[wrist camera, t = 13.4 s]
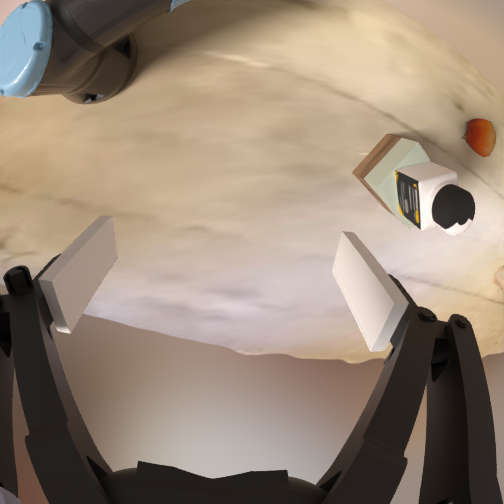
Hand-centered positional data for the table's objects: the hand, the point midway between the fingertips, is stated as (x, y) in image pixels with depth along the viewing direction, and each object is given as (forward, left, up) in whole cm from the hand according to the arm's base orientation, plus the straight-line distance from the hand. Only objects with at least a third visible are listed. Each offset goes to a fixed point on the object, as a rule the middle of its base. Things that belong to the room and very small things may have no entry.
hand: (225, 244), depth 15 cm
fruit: (+32, +39, -32) cm, 60 cm away
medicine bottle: (+22, +16, -22) cm, 35 cm away
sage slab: (+22, +16, -27) cm, 39 cm away
